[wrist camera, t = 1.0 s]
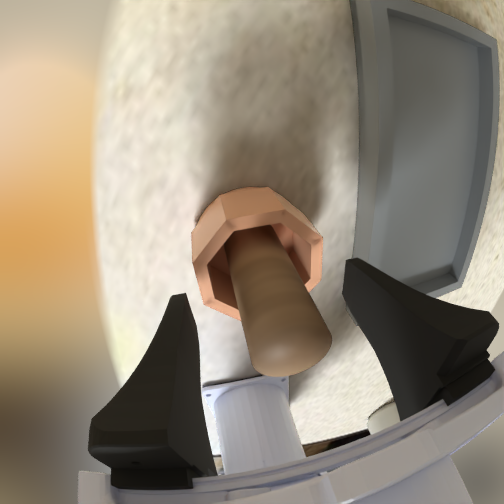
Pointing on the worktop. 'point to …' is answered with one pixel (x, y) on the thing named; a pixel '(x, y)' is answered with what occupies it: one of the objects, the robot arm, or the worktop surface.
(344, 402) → the worktop surface
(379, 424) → the can
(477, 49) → the tray
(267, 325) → the pin
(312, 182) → the worktop surface
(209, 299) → the cup
